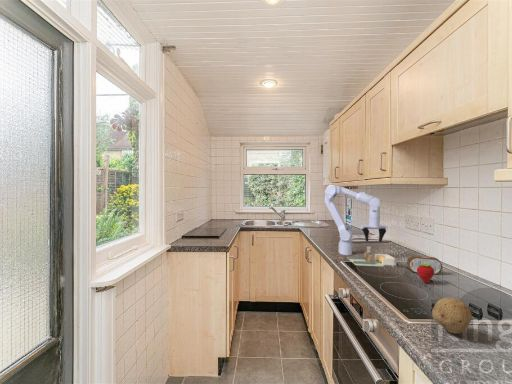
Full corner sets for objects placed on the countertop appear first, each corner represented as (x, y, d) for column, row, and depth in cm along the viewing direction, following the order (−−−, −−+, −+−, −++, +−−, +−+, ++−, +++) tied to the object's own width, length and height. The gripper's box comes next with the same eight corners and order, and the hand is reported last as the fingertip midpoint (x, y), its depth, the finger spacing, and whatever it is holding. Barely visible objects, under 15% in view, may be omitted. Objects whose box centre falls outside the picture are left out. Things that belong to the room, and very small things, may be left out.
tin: (440, 274, 135) (441, 257, 135) (442, 276, 132) (443, 258, 132) (406, 270, 139) (407, 254, 139) (408, 272, 136) (408, 255, 136)
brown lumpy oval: (438, 338, 75) (440, 302, 75) (426, 322, 84) (428, 290, 84) (477, 343, 73) (478, 306, 73) (460, 327, 82) (461, 294, 82)
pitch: (346, 259, 158) (346, 251, 158) (385, 260, 157) (385, 253, 157) (355, 267, 142) (355, 258, 142) (398, 269, 141) (399, 260, 141)
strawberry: (412, 281, 123) (413, 259, 123) (425, 280, 125) (426, 258, 125) (424, 286, 117) (425, 262, 117) (437, 284, 119) (438, 261, 119)
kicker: (363, 259, 154) (364, 244, 153) (368, 259, 153) (368, 245, 153) (369, 263, 146) (369, 248, 145) (373, 263, 145) (374, 248, 145)
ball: (384, 263, 151) (376, 262, 151) (385, 256, 151) (378, 255, 151) (387, 265, 147) (379, 264, 147) (388, 258, 147) (381, 257, 147)
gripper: (364, 218, 156) (363, 242, 156) (390, 219, 156) (389, 243, 156) (360, 217, 163) (359, 239, 163) (384, 217, 163) (384, 240, 163)
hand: (373, 241), depth 160 cm, fingers open, 7 cm apart
